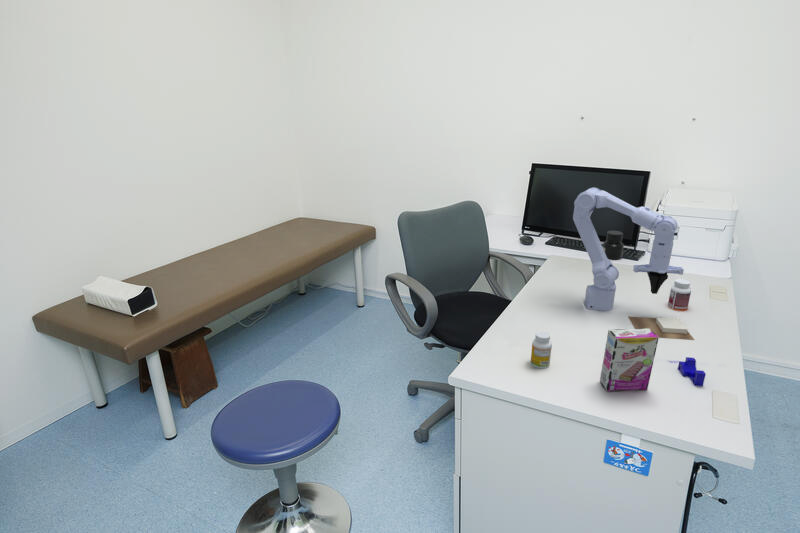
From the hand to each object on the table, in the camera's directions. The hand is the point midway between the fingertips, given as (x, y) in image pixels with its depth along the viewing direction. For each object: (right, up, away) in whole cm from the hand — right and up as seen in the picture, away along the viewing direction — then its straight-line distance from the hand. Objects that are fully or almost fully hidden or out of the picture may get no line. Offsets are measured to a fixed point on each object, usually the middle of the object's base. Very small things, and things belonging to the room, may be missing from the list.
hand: (653, 292), depth 155 cm
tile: (0, -10, -4) cm, 11 cm away
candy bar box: (-25, -24, -31) cm, 46 cm away
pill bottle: (+14, -7, +11) cm, 19 cm away
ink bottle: (+15, +13, +63) cm, 66 cm away
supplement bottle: (-44, -20, -19) cm, 52 cm away
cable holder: (-5, -22, -27) cm, 36 cm away
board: (0, -12, -3) cm, 13 cm away
